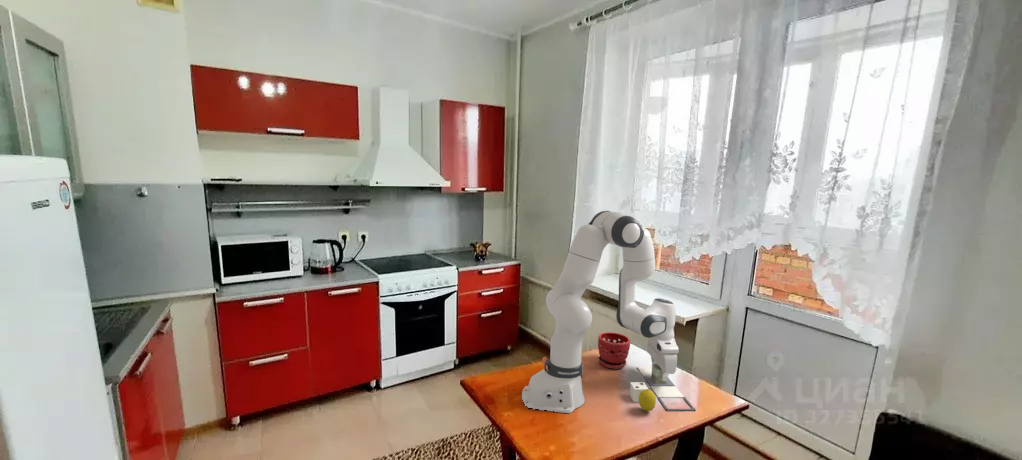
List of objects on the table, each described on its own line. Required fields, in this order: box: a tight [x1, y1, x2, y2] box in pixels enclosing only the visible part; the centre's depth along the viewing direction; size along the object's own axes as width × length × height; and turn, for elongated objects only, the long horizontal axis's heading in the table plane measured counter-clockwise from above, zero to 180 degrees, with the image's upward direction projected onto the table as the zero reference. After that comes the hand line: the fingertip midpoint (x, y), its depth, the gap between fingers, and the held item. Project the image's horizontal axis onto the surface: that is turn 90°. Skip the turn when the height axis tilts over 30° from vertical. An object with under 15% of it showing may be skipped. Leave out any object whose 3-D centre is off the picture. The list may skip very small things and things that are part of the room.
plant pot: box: [597, 331, 631, 370], centre depth 173 cm, size 13×13×12 cm
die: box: [629, 381, 649, 403], centre depth 147 cm, size 5×5×5 cm
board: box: [636, 366, 696, 412], centre depth 156 cm, size 10×32×1 cm, turn 1°
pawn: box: [651, 362, 667, 384], centre depth 159 cm, size 4×4×9 cm
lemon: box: [638, 388, 657, 412], centre depth 139 cm, size 6×6×8 cm
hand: (659, 373), depth 159 cm, fingers open, 8 cm apart
